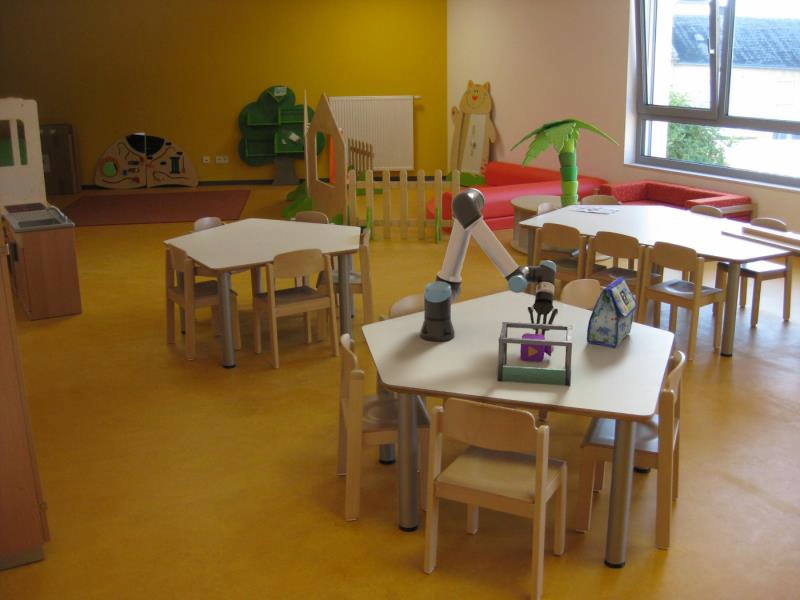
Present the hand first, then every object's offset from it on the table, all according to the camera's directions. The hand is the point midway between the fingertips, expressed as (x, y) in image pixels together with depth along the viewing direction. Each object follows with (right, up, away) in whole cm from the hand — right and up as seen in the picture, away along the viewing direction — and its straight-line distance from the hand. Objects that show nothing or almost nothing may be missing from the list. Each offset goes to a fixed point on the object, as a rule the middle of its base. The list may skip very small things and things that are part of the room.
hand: (538, 344), depth 354 cm
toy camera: (-2, -6, -4) cm, 7 cm away
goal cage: (-5, -10, -20) cm, 23 cm away
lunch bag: (+34, +1, +18) cm, 38 cm away
